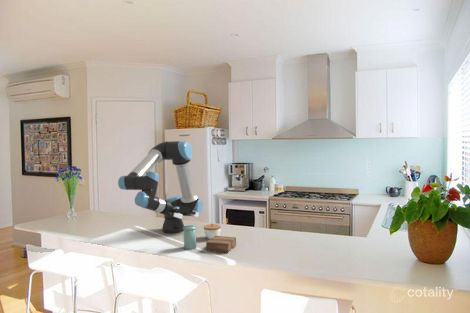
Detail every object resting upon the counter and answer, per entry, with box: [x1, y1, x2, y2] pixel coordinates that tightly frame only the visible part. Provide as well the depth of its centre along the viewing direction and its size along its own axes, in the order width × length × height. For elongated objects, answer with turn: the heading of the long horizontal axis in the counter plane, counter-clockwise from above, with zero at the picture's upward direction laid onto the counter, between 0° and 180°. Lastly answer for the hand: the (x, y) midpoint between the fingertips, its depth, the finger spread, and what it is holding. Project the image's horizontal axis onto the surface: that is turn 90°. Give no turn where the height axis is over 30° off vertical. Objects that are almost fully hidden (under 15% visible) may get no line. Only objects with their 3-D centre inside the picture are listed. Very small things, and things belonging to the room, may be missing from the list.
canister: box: [183, 225, 197, 251], centre depth 200 cm, size 8×8×12 cm
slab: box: [205, 235, 237, 253], centre depth 198 cm, size 13×13×5 cm
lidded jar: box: [203, 223, 222, 240], centre depth 218 cm, size 11×11×9 cm
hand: (190, 216), depth 201 cm, fingers open, 13 cm apart
